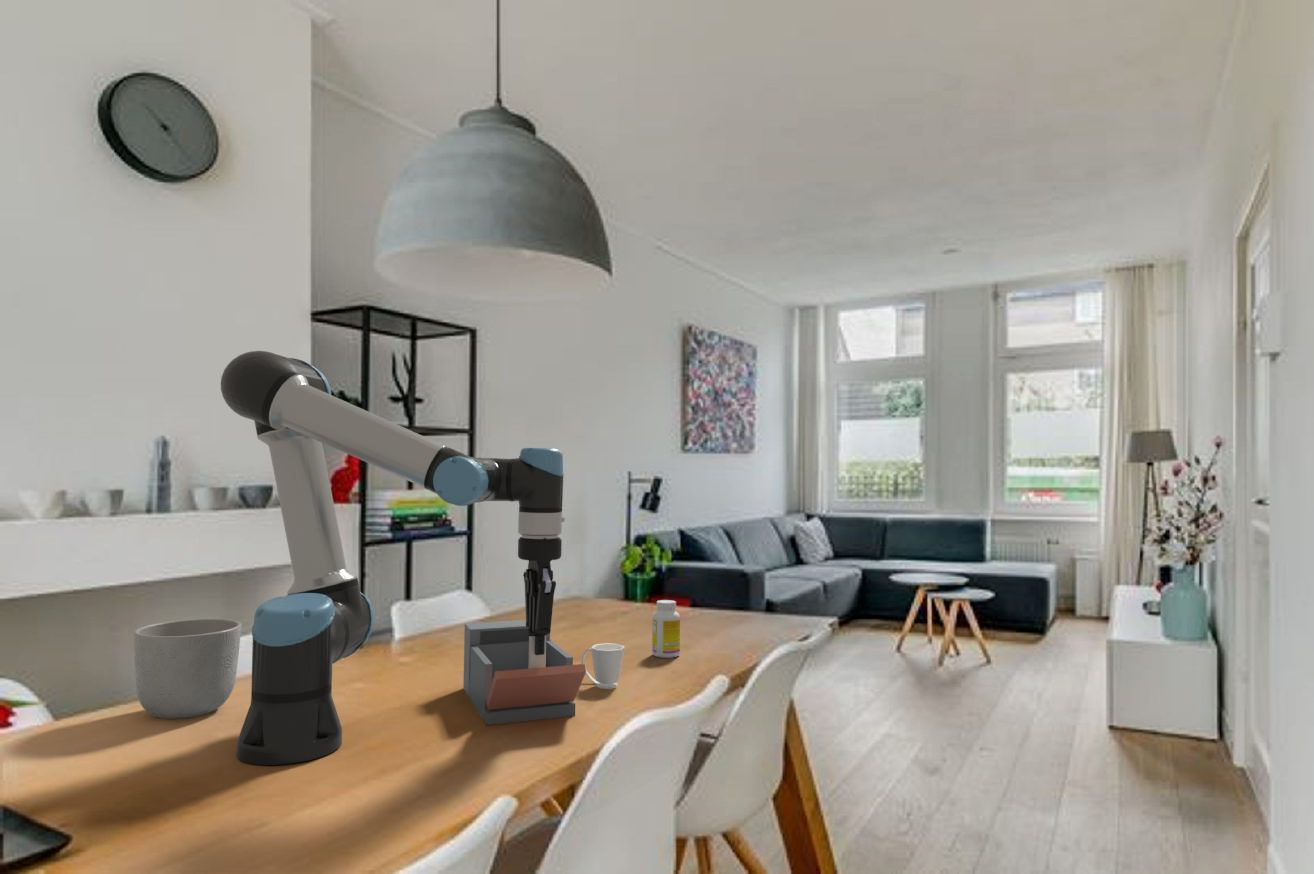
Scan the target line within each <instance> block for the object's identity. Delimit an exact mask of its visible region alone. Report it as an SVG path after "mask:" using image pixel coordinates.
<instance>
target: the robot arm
mask: <svg viewBox="0 0 1314 874" xmlns="http://www.w3.org/2000/svg"><path fill="white" fill-rule="evenodd" d="M220 391H221V394H222V398H223V401H224V402H225V404H226V405H227V406H228V407H229V408H230V409H231V410H232V411H233V412H234V413H236V414H237V415H239V416H240V417H243V418H245V419H247V420H249V419H250V420H252V421H254V426H255V431H256V435H257V436H256V437H257V439H258V440H259V441H261V442H262V443H263V444H265V445H267V446H268V449H269V453H270V458H271V463H272V468H273V474H274V480H275V484H276V490H277V495H278V500H279V505H280V510H281V511H280V512H281V516H282V520H283V521H282V523H283V526H284V531H285V537H286V542H287V547H288V551H289V556H290V557H289V558H290V562H291V567H292V572H293V578H294V581H293V583H292V584H291V586H290V587H289V589H288V590H287V591H286V592H287V593H286V594H287V595H285V596H277V597H274V598H271V599H268V600H266V601H264V602H263V603H261V604H260V605H259V606H258V607H257V609H256V610H255V612H254V616H253V617H254V618H253V625H252V628H251V635H252V646H251V647H252V652H251V692H250V693H251V694H250V695H251V696H250V697H251V698H250V705H249V708H248V710H247V713H246V716H245V719H244V722H243V724H242V726H241V729H240V733H239V735H238V737H237V742H236V757H237V758H238V759H239V760H240V761H242V762H245V763H247V764H253V765H262V766H274V765H275V766H279V765H288V764H289V765H290V764H297V763H302V762H303V763H304V762H307V761H312V760H316V759H318V758H322V757H324V756H326V755H330V754H331V753H333V752H335V751H336V750H338V749H339V748H340V747H341V746H342V743H343V727H342V724H341V721H340V717H339V714H338V712H337V708H336V705H335V703H334V702H335V701H334V699H333V696H332V695H333V694H332V693H333V692H332V690H333V688H332V685H333V684H332V682H333V664H335V663H337V662H338V661H341V660H342V659H346V658H348V657H349V656H351V655H353V654H354V653H356V652H357V651H358V650H359V649H360V648H361V647H362V646H364V644H365V643H366V642H367V641H368V639H370V636H371V635H372V632H373V629H374V625H375V610H374V608H373V604H372V602H371V600H370V599H369V598H368V596H367V595H365V594H363V593H362V592H361V588H360V584H359V579H358V578H359V577H358V576H357V574H354V573H353V572H351V571H350V570H349V569H347V564H346V559H345V555H344V550H343V545H342V544H343V543H342V539H341V535H340V534H341V533H340V528H339V524H338V518H337V514H336V509H335V503H334V498H333V494H332V493H333V492H332V489H331V483H330V478H329V477H330V476H329V472H328V467H327V461H326V457H325V452H324V447H323V444H324V445H326V446H329V447H331V448H333V449H336V450H337V451H341V452H342V453H345V454H347V455H349V456H351V457H354V458H357V459H359V460H361V461H363V462H365V463H367V464H370V465H372V466H374V467H377V468H378V469H381V470H383V471H386V472H388V473H391V474H392V475H395V476H397V477H399V478H401V479H404V480H405V481H408V482H411V483H412V484H415V485H417V486H420V487H422V488H424V489H426V490H429V492H432V493H434V494H437V496H438V497H439V498H440V499H441V500H443V501H444V502H446V503H447V504H450V505H455V506H458V507H461V506H463V507H464V506H465V507H466V506H469V505H472V504H476V503H482V502H518V505H519V507H518V524H517V530H518V531H517V532H518V534H519V535H521V536H520V537H519V538H518V539H517V540H518V541H517V542H518V543H517V557H518V558H519V559H520V560H523V561H528V563H527V568H526V569H525V571H524V572H523V575H522V576H523V582H524V595H525V596H524V600H525V601H524V602H525V620H526V627H529V628H528V631H529V632H528V636H529V666H528V669H531V668H542V667H546V635H547V634H550V635H551V630H552V629H551V628H552V618H553V606H554V596H555V595H554V594H555V591H556V586H557V582H556V580H553V579H554V571H553V570H552V567H551V566H552V565H551V561H556V560H559V559H561V557H562V545H563V544H562V538H561V537H559V536H560V535H561V534H562V532H563V531H562V526H563V525H562V524H563V523H564V522H565V518H566V517H564V516H563V495H564V476H565V473H564V459H563V453H562V451H561V450H560V449H558V448H556V447H555V448H553V447H552V448H550V447H524V448H523V447H522V449H520V451H519V452H520V453H519V456H518V458H497V457H496V458H493V457H476V456H475V457H474V456H469V455H467V454H464V453H463V452H460V451H458V450H456V449H454V448H451V447H448V446H446V445H444V444H442V443H439V442H437V441H435V440H433V439H430V438H428V437H426V436H424V435H422V434H419V433H417V432H414V431H412V430H411V429H409V428H406V427H404V426H401V425H399V424H397V423H395V422H393V421H390V420H388V419H386V418H383V417H382V416H379V415H377V414H374V413H372V412H371V411H367V410H365V409H364V408H361V407H358V406H356V405H354V404H352V403H350V402H348V401H345V400H343V399H340V398H339V397H336V396H334V395H332V390H331V386H330V383H329V381H328V380H327V377H326V376H325V375H324V374H323V373H322V372H321V371H320V369H318V368H316V367H315V366H313V365H311V364H310V363H308V362H306V361H304V360H301V359H297V358H293V357H288V356H287V357H286V356H283V355H279V354H276V353H274V352H270V351H264V350H254V351H253V350H252V351H247V352H244V353H242V354H239V355H237V356H236V357H235V358H233V359H232V360H231V361H230V362H229V363H228V364H227V365H226V367H225V368H224V370H223V372H222V374H221V378H220Z"/></svg>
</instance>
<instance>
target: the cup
mask: <svg viewBox="0 0 1314 874" xmlns="http://www.w3.org/2000/svg"><path fill="white" fill-rule="evenodd" d="M588 652H590V653H591V658H592V666H593V673H594V677H595V678H594V677H593V676H592V675H591V674H590V673H589V671H588V670H587V667H586V666H585V669H586V673H585V676H586V677H587V678H588V679H589V680H590V681H591V682H592V683H593V684H594V685H596V687H597V688H598V689H601V690H602V689H603V690H612V689H616V688H617V687H618V686H619V684H618V683H617V682H618V681H619V678H620V677H621V676H620V674H621V670H622V667H623V659H624V653H625V645H622V644H619V643H613V642H611V643H609V642H606V643H605V642H604V643H597V644H593V645H592V646H591V647H590V648H588V649H585V651H584V652H583V653H582V658H581V664H585V665H586V657H587V654H588Z"/></svg>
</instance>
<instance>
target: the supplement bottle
mask: <svg viewBox="0 0 1314 874" xmlns="http://www.w3.org/2000/svg"><path fill="white" fill-rule="evenodd" d="M676 607H677V601H675V600H671V599H670V600H669V599H661V600H657V601H656V608H657V610H656V611H654V613H652V627H651V628H652V629H651V631H652V634H651V635H652V637H651V639H652V640H651V641H652V642H651V643H652V644H651V645H652V647H651V648H652V650H651V652H652V655H653V656H654V657H656V658H663V659H670V658H671V659H672V658H676V657H678V656H680V654H681V653H680V652H681V616H680V613H679V612H678V611H676Z"/></svg>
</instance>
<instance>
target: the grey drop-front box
mask: <svg viewBox="0 0 1314 874" xmlns="http://www.w3.org/2000/svg"><path fill="white" fill-rule="evenodd" d="M566 665H574V657H573V656H572V655H571V654H570V653H568V652H567V651H566V650H564V649H563V648H562V647H560V646H559V645H558V644H556V643H555V642H554V641H553V640H552V639H550V640H546V667H554V666H566ZM528 666H529V641H524V642H510V643H496V644H482V645H470V673H469V697H468V698H469V700H470V701H471V703H472V704H473V706H474V707H475V710H476V712H477V713H478V714H479V715H480V718H481V719H482V720H483V722H484V723H485V725H486V726H491V725H498V724H499V725H500V724H508V723H517V722H526V721H534V720H535V721H536V720H547V719H555V718H563V717H574V716H576V703H575V702H574V701H571V702H561V703H551V704H541V705H532V706H522V707H512V708H502V709H492V710H487V707H486V705H487V699H488V695H489V692H490V688H491V685H492V681H493V678H494V674H495V671H507V670H519V669H528Z"/></svg>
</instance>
